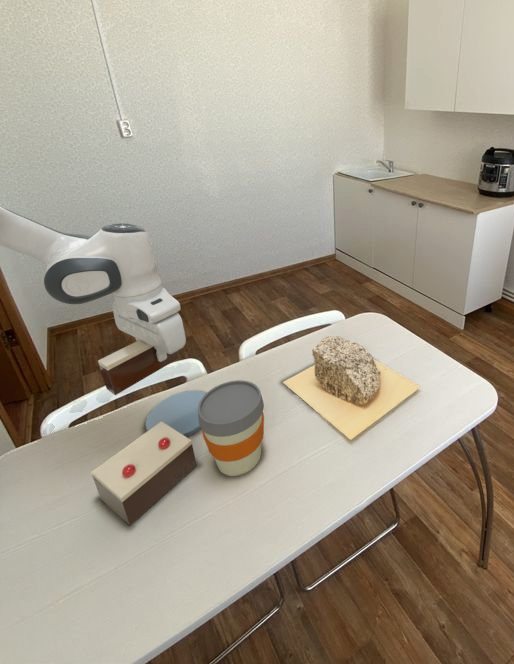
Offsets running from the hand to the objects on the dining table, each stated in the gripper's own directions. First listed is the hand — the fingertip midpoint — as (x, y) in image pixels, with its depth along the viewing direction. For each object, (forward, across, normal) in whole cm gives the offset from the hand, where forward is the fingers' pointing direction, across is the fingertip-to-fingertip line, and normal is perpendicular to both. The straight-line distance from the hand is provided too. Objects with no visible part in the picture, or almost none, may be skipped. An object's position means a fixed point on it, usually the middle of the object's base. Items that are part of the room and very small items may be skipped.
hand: (155, 356), depth 84 cm
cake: (+19, +10, -11) cm, 24 cm away
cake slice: (+3, 0, -3) cm, 4 cm away
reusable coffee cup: (+19, +21, +2) cm, 29 cm away
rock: (+19, +30, +32) cm, 48 cm away
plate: (+19, 0, +2) cm, 19 cm away
